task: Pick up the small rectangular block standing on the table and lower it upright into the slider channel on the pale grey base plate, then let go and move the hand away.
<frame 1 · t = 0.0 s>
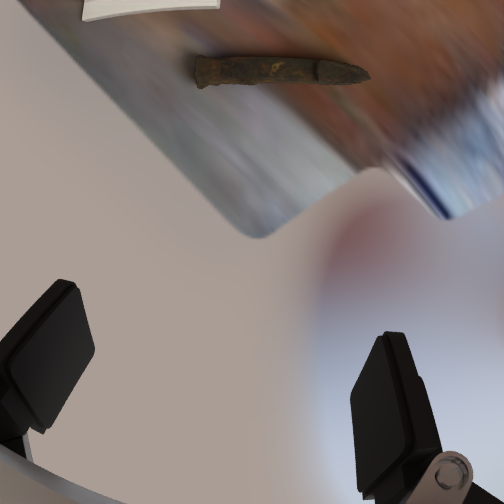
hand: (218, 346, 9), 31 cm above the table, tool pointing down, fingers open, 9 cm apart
hand tool: (283, 67, 32), on the table
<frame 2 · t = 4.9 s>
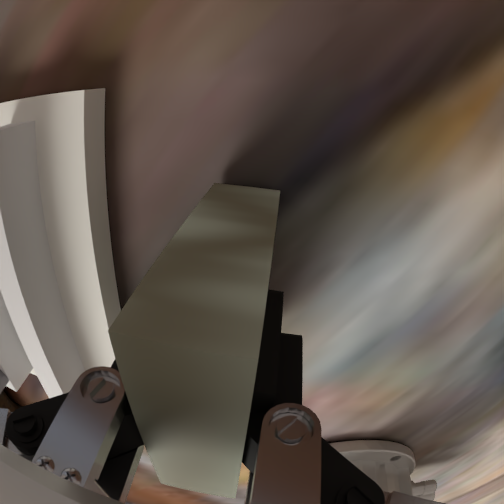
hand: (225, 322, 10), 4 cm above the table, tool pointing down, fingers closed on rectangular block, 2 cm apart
rectangular block: (240, 269, 13), on the table, touching gripper
hand tool: (2, 379, 24), on the table
slider channel: (29, 263, 15), on the table
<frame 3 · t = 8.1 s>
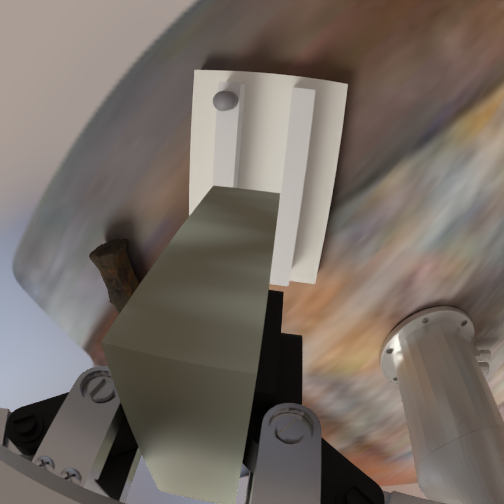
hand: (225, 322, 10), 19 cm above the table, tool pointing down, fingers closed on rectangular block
rectangular block: (239, 273, 13), point 16 cm above the table, touching gripper
hand tool: (148, 307, 37), on the table
slider channel: (261, 177, 28), on the table
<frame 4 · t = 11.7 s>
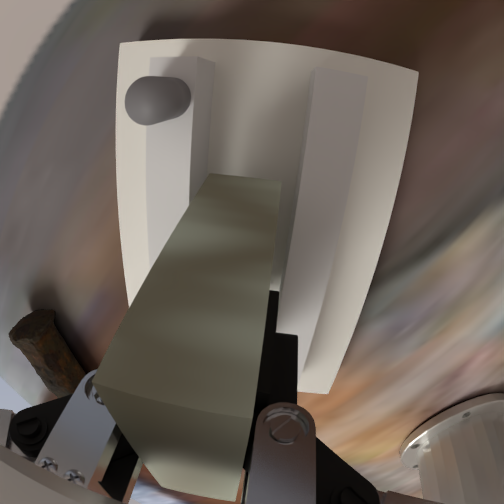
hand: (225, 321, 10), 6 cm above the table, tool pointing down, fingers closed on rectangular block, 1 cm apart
rectangular block: (239, 261, 13), point 3 cm above the table, tilted 7°, touching gripper
hand tool: (102, 388, 25), on the table
slider channel: (247, 239, 16), on the table
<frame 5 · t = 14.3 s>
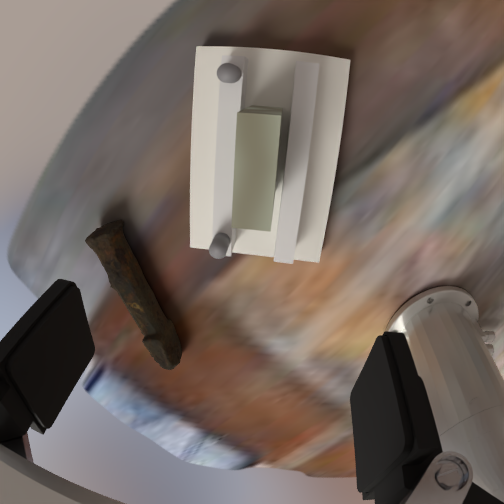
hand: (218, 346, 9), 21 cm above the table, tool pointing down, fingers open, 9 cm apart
rectangular block: (264, 148, 25), point 1 cm above the table, touching slider channel
hand tool: (152, 290, 36), on the table
slider channel: (264, 154, 27), on the table
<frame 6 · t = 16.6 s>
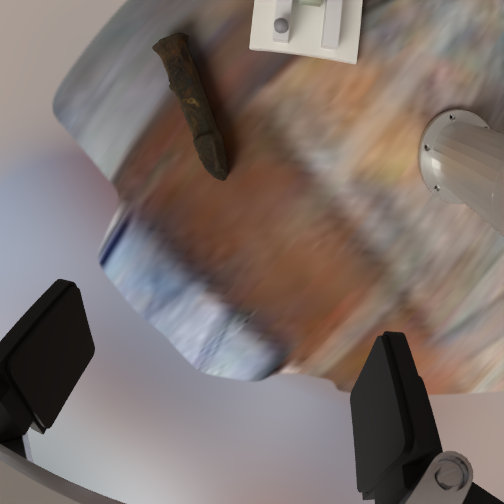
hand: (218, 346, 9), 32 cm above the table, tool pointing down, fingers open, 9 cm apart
hand tool: (204, 104, 36), on the table
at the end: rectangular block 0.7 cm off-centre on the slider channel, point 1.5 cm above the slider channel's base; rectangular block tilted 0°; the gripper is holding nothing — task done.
